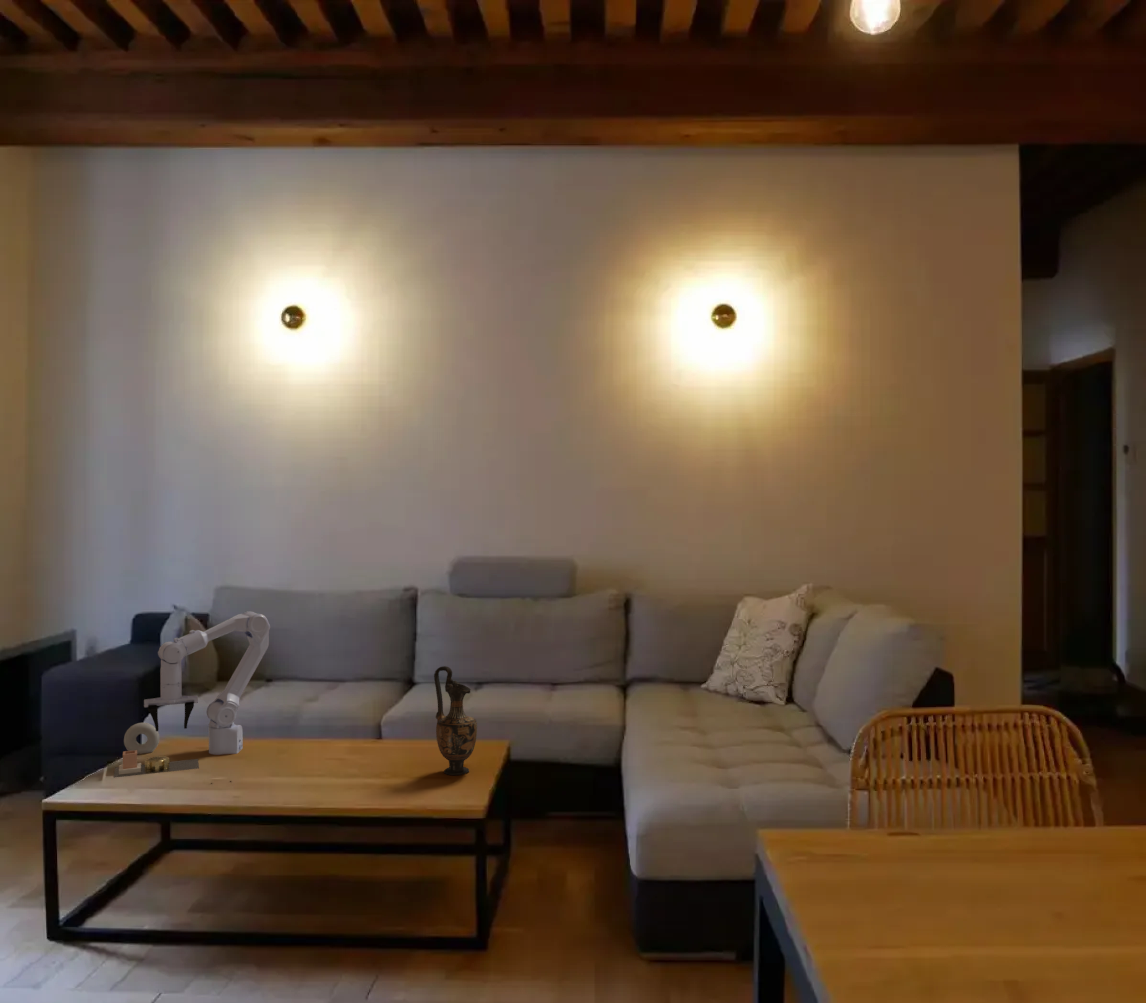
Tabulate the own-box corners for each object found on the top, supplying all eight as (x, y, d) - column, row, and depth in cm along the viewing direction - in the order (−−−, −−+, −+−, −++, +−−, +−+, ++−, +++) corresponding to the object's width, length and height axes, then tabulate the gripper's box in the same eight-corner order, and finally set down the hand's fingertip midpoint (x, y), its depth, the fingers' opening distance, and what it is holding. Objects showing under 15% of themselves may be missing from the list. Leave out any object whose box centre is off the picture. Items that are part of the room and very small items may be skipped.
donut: (122, 758, 283) (122, 724, 283) (125, 754, 287) (125, 722, 286) (158, 756, 285) (158, 723, 285) (160, 753, 289) (160, 720, 289)
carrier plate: (197, 762, 279) (197, 748, 279) (199, 771, 270) (199, 757, 270) (115, 771, 270) (115, 757, 270) (113, 781, 261) (113, 766, 261)
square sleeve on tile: (141, 766, 271) (141, 748, 271) (140, 772, 266) (140, 753, 266) (119, 769, 269) (119, 750, 269) (118, 774, 264) (118, 756, 264)
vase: (469, 778, 264) (469, 671, 263) (427, 776, 266) (427, 669, 266) (482, 766, 275) (482, 664, 275) (441, 764, 278) (441, 662, 277)
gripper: (143, 687, 272) (144, 735, 272) (198, 683, 278) (198, 729, 278) (144, 683, 278) (144, 729, 278) (197, 679, 284) (197, 724, 284)
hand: (171, 729), depth 279 cm, fingers open, 7 cm apart
